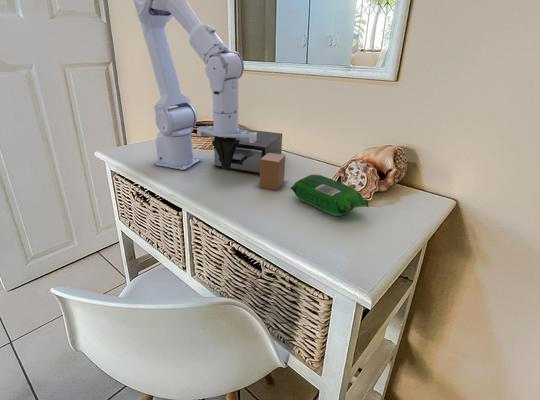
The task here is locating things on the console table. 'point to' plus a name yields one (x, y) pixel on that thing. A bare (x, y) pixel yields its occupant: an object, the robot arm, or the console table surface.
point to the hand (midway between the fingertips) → (226, 167)
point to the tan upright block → (272, 171)
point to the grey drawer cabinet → (263, 144)
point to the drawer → (244, 159)
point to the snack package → (328, 195)
